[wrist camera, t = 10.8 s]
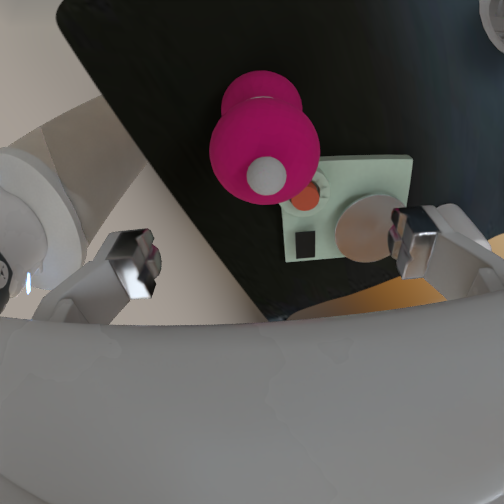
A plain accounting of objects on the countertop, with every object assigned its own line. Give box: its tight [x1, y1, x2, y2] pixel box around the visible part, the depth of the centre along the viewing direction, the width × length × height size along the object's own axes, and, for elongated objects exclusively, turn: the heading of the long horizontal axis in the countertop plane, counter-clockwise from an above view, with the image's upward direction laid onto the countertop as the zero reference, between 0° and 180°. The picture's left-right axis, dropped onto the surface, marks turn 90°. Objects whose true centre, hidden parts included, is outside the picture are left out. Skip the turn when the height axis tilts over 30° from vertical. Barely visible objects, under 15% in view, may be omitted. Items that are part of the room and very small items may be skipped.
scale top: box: [295, 193, 406, 262], centre depth 34 cm, size 15×10×1 cm
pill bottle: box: [436, 204, 492, 252], centre depth 33 cm, size 8×8×11 cm
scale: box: [279, 155, 413, 262], centre depth 35 cm, size 16×14×3 cm
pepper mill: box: [209, 71, 320, 205], centre depth 20 cm, size 7×7×20 cm
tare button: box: [291, 182, 319, 211], centre depth 31 cm, size 3×3×2 cm
